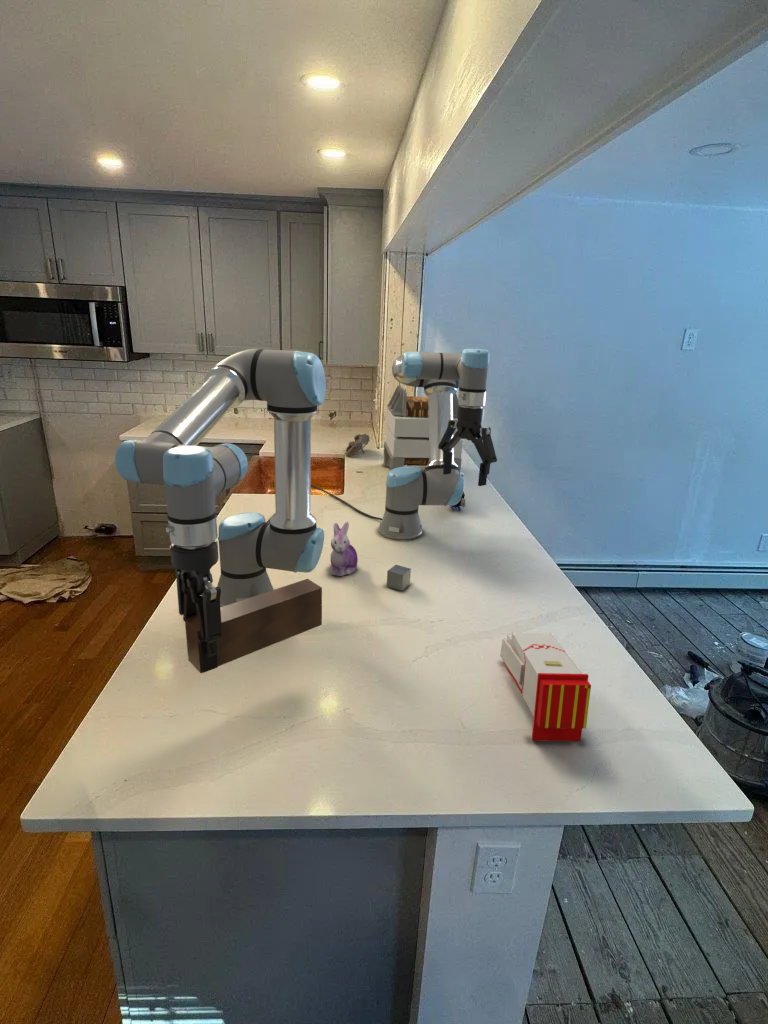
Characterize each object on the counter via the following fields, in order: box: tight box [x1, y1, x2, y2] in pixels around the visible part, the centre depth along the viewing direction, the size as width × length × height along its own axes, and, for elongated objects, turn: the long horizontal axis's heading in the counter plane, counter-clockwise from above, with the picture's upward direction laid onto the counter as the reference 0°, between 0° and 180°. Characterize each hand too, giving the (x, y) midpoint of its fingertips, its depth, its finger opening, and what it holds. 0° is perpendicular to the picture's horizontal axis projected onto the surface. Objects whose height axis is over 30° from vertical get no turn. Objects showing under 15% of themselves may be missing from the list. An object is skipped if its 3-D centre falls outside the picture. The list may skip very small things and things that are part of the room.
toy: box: [499, 631, 592, 742], centre depth 117 cm, size 12×13×30 cm
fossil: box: [345, 433, 370, 458], centre depth 306 cm, size 22×10×15 cm
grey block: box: [386, 564, 412, 592], centre depth 162 cm, size 5×5×5 cm
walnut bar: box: [184, 578, 323, 674], centre depth 107 cm, size 26×5×8 cm, turn 132°
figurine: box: [329, 521, 359, 577], centre depth 168 cm, size 9×10×15 cm
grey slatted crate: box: [383, 384, 464, 472], centre depth 268 cm, size 34×33×41 cm
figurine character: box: [448, 490, 466, 511], centre depth 229 cm, size 7×8×15 cm
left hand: (202, 661), depth 101 cm, fingers closed on walnut bar, 5 cm apart
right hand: (464, 479), depth 165 cm, fingers open, 13 cm apart
